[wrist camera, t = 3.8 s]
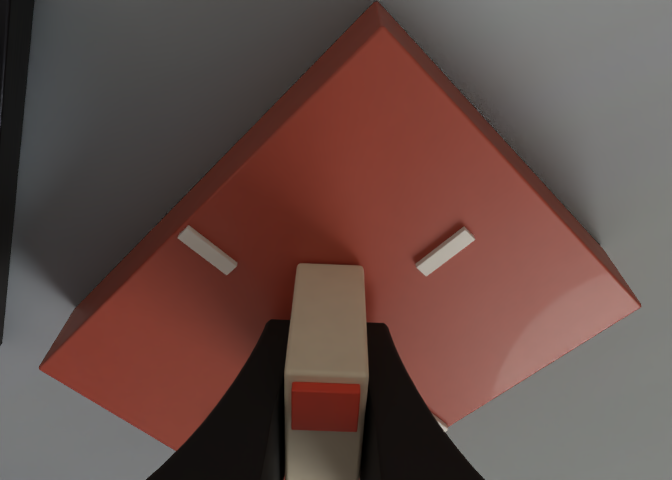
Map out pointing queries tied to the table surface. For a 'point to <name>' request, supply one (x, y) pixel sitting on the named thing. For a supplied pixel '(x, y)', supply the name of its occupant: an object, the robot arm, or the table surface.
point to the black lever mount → (11, 121)
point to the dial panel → (348, 248)
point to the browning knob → (326, 374)
